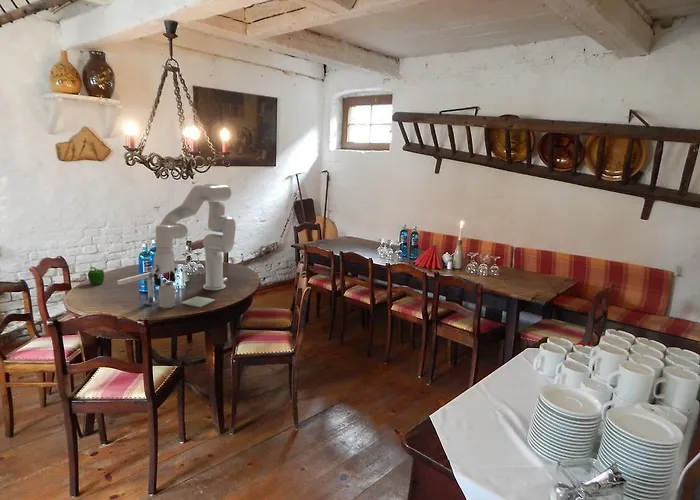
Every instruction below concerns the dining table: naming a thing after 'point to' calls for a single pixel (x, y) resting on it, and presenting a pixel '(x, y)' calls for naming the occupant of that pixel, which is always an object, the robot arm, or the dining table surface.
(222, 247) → the robot arm
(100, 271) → the bell pepper
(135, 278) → the light grey bar
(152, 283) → the post
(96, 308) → the dining table surface
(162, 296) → the can
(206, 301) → the pad
